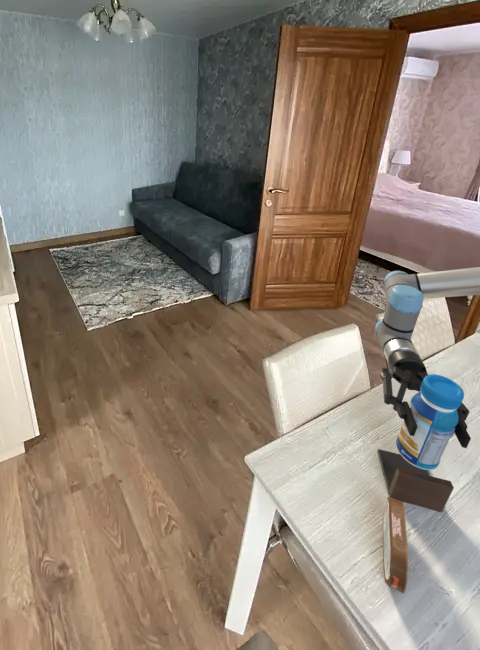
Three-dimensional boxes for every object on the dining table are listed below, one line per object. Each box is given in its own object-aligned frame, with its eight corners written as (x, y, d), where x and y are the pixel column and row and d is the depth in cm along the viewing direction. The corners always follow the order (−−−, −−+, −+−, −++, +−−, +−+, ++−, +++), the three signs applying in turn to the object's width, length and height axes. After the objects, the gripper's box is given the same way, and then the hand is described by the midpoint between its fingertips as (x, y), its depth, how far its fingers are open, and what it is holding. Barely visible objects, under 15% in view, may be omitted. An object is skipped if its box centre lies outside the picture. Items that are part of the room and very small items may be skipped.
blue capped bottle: (437, 480, 72) (470, 410, 64) (391, 455, 76) (416, 387, 69) (440, 451, 78) (471, 383, 70) (397, 430, 82) (421, 364, 75)
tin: (400, 604, 60) (414, 577, 57) (380, 593, 61) (392, 566, 58) (396, 519, 72) (407, 493, 69) (379, 511, 73) (388, 485, 70)
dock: (377, 451, 86) (384, 428, 83) (422, 462, 84) (432, 439, 81) (389, 498, 76) (399, 474, 73) (442, 512, 73) (454, 488, 70)
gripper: (447, 381, 87) (496, 464, 67) (356, 364, 93) (376, 436, 73) (456, 358, 85) (510, 437, 64) (362, 341, 90) (385, 410, 70)
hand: (439, 436), depth 69 cm, fingers closed on blue capped bottle, 8 cm apart
